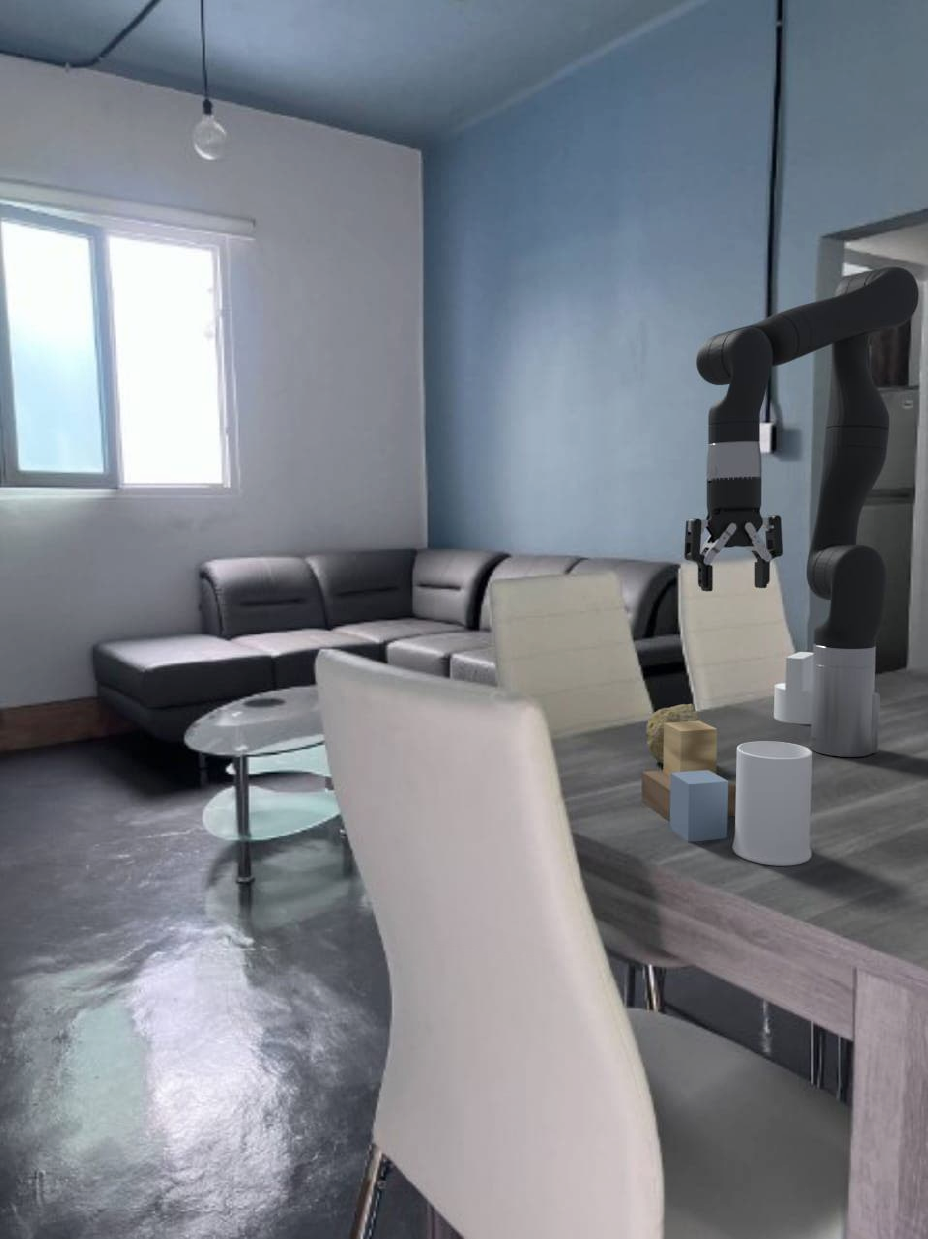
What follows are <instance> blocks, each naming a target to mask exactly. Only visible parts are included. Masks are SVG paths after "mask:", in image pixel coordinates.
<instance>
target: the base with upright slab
mask: <svg viewBox="0 0 928 1239" xmlns="http://www.w3.org/2000/svg"><path fill="white" fill-rule="evenodd" d="M784 678H785V680H784V681H785V682H782V683H778V684H775V685H774V700H773V701H774V703H773V704H774V705H773V718H774V719H775V720H776V721H779V722H783V723H788V724H790V723H791V724H800V725H811V717H812V684H813V652H807V651H797V652H796V653H793V654H791V655H789V656H786V657H785V677H784Z"/></svg>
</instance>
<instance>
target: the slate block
mask: <svg viewBox="0 0 928 1239" xmlns="http://www.w3.org/2000/svg"><path fill="white" fill-rule="evenodd" d="M716 774H717V773H716ZM716 774H714V773H713V772H711V771H709V770H702V771H689V772H676V773H671V778H670V821H669V829H670V830H672V831H673V832H674V833H676V834H677V836H679V837H681V838H682V839H683V840H685V841H686V842H687V843H690V842H701V841H702V842H703V841H710V840H722V839H723V840H724V839H727V838H728V817H727V809H728V781H729V780H728V781H727V779H726V778H724V777H723V776H720V775H719V776H718V774H717V775H716ZM723 778H724V779H723ZM725 779H726V780H725Z"/></svg>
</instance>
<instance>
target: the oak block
mask: <svg viewBox="0 0 928 1239" xmlns="http://www.w3.org/2000/svg"><path fill="white" fill-rule="evenodd" d="M701 721H702V720H701ZM701 721H685V722H669V723H664V764H663V766H662V767H663V769H662V770H663V775H665V776H667V777H668V778H671V773H676V772H689V771H702V770H709V771H711V772H713V773H714V774H717V757H718V756H717V752H718V750H717V749H718V746H717V745H718V728H716V727H714V726H712V725H709V724H707V723H705V722H703V721H702V722H701Z"/></svg>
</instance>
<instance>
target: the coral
mask: <svg viewBox="0 0 928 1239" xmlns="http://www.w3.org/2000/svg"><path fill="white" fill-rule="evenodd" d="M685 721H701V722H703V721H702V719H701V717H700V715H699V713H698V711H697V710H696V707H695V706H694V704H693V703H688V704H685V703H683V704H678V705H674V706H670V707H663V708H660V709H657V711H654V712H653V713H652V714H651V716H649V719H648V720H647V724H646V727H645V733H646V740H647V743H646V745H647V747H648V748H649V753H650V754H651V756H653V758H654V759H655V760H656V761H658V762H659V763H660V764H663V765H664V723H669V722H685Z"/></svg>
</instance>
